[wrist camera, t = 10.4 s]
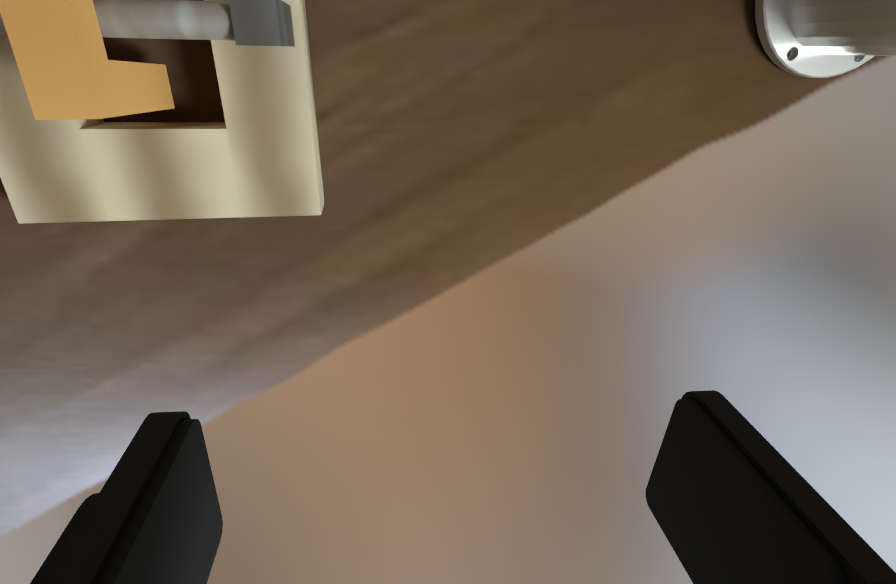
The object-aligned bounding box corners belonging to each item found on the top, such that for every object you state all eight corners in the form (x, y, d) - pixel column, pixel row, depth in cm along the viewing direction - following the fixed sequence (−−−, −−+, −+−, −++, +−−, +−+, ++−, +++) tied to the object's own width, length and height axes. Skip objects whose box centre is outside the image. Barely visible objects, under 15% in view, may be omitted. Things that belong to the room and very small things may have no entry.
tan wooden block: (138, -59, 26) (28, -128, 17) (174, 108, 29) (97, 119, 21) (89, -60, 26) (-47, -131, 17) (132, 109, 29) (35, 120, 20)
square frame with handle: (288, -164, 26) (258, -249, 18) (324, 202, 35) (313, 244, 27) (-100, -196, 23) (-322, -312, 16) (46, 209, 32) (-50, 258, 25)
